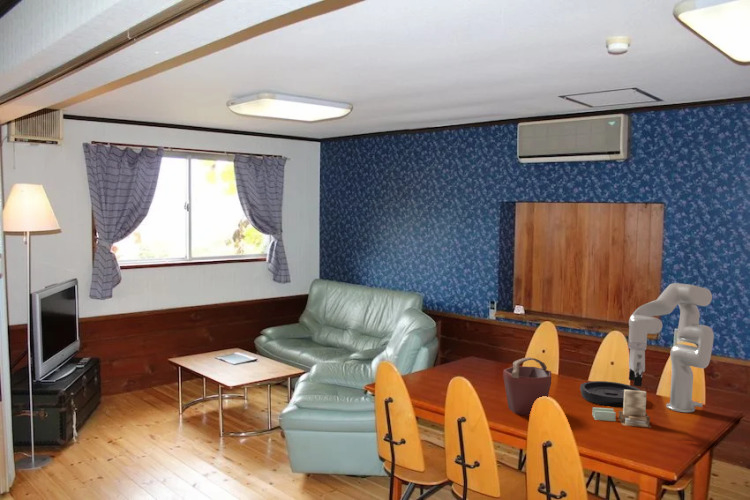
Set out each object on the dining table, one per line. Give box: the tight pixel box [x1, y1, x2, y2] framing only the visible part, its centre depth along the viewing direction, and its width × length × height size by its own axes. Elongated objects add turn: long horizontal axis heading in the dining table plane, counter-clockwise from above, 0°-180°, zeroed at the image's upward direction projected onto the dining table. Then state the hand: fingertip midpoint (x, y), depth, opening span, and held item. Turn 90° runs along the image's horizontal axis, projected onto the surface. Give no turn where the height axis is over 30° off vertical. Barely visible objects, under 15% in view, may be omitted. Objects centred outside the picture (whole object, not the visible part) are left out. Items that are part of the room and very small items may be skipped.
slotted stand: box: [591, 406, 617, 422], centre depth 288 cm, size 9×8×4 cm
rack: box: [617, 410, 652, 428], centre depth 282 cm, size 12×10×4 cm
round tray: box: [579, 380, 642, 408], centre depth 320 cm, size 30×6×30 cm
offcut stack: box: [625, 416, 649, 428], centre depth 279 cm, size 9×3×3 cm, turn 80°
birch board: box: [622, 390, 648, 416], centre depth 283 cm, size 9×2×14 cm, turn 80°
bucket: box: [502, 357, 552, 417], centre depth 299 cm, size 24×22×25 cm
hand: (635, 383), depth 282 cm, fingers open, 9 cm apart
